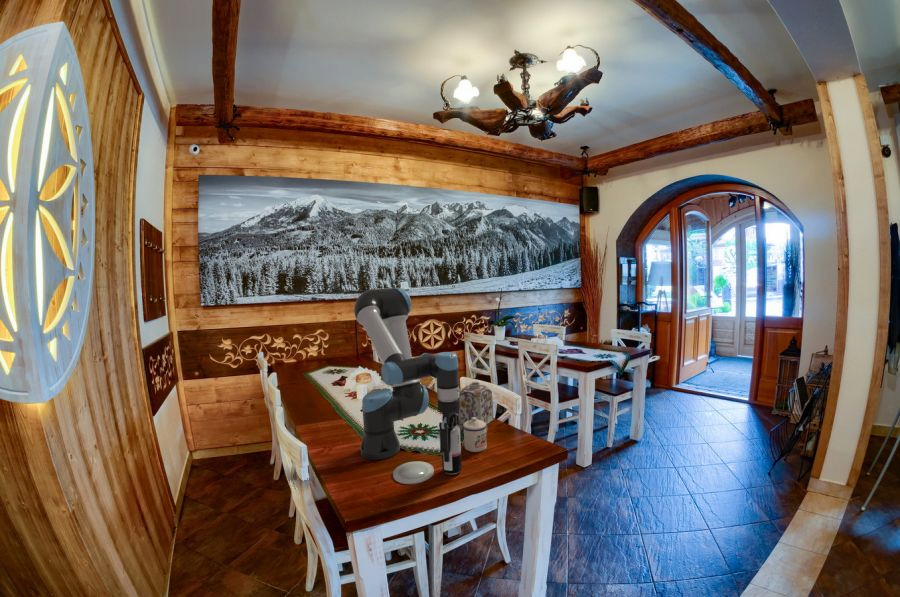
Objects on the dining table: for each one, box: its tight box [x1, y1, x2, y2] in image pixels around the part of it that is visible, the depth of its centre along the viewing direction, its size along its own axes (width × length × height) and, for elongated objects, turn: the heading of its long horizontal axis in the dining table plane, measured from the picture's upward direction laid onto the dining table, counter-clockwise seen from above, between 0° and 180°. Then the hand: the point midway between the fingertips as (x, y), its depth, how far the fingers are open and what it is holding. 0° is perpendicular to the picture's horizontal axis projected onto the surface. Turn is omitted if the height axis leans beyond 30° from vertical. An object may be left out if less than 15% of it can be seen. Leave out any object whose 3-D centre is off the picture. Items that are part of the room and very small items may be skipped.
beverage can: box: [441, 425, 463, 475], centre depth 128 cm, size 7×6×15 cm
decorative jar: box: [459, 381, 494, 426], centre depth 170 cm, size 12×12×18 cm
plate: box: [392, 460, 435, 485], centre depth 128 cm, size 14×14×1 cm
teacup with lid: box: [462, 417, 488, 453], centre depth 146 cm, size 12×9×12 cm
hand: (451, 464), depth 128 cm, fingers closed on beverage can, 6 cm apart
